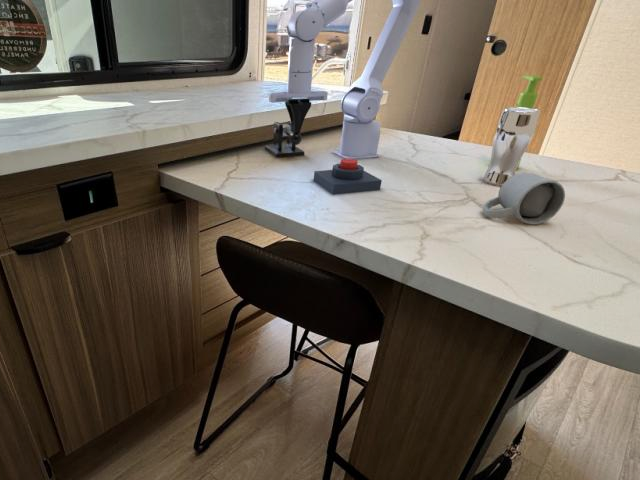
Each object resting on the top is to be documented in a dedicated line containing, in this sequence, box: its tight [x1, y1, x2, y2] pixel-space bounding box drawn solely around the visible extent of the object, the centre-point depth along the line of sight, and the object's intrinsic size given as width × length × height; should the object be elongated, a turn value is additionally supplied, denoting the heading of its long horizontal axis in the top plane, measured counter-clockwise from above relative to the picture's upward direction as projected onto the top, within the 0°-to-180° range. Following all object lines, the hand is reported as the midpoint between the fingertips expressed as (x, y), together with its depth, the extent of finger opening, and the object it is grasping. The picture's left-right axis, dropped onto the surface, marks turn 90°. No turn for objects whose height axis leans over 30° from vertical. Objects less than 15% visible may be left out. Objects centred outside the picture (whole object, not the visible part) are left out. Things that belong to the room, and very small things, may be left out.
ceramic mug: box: [482, 172, 566, 225], centre depth 74 cm, size 11×8×8 cm
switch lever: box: [281, 123, 303, 146], centre depth 109 cm, size 11×3×3 cm, turn 15°
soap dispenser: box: [515, 75, 543, 171], centre depth 98 cm, size 6×7×20 cm
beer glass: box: [482, 106, 541, 187], centre depth 89 cm, size 7×7×15 cm
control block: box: [313, 163, 383, 196], centre depth 90 cm, size 11×10×4 cm
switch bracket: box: [264, 120, 305, 159], centre depth 113 cm, size 10×8×8 cm
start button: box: [339, 158, 359, 170], centre depth 89 cm, size 4×4×2 cm
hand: (296, 132), depth 105 cm, fingers closed, pressing on switch lever
